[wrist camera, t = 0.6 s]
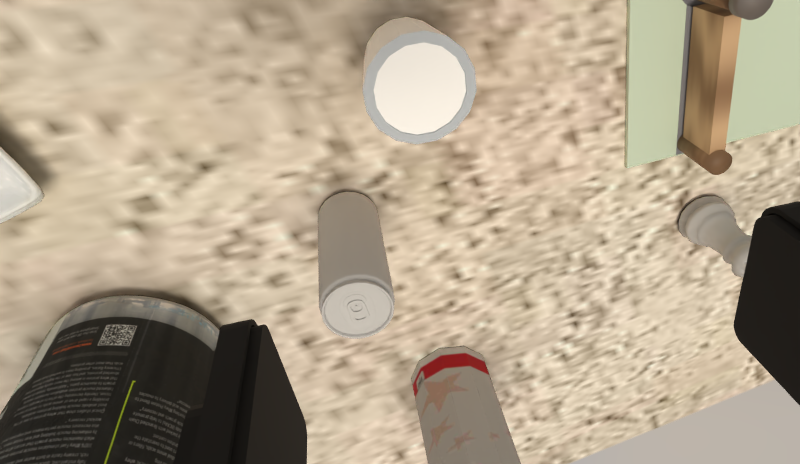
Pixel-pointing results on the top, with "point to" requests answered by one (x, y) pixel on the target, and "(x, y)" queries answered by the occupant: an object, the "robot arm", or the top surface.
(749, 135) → the board
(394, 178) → the top surface
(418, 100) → the white short cylinder
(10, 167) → the square plate
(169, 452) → the supplement tub
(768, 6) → the fence panel
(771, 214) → the robot arm
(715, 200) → the rook chess piece
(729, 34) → the bar
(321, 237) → the beverage can
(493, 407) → the spray bottle
